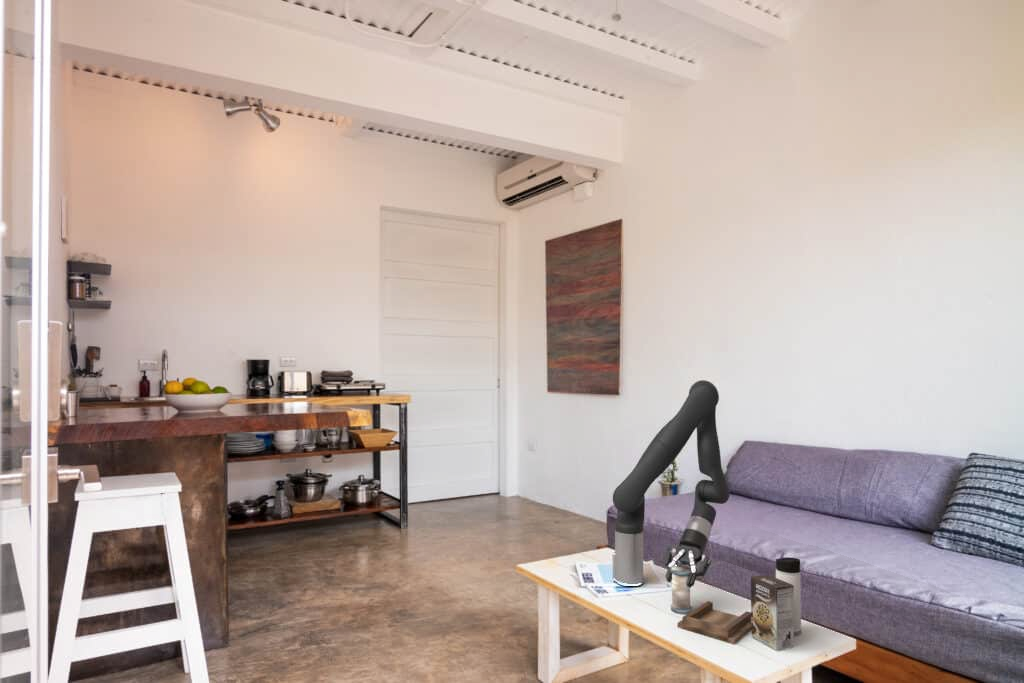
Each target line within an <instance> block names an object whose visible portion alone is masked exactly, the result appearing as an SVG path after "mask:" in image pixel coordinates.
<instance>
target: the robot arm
mask: <svg viewBox="0 0 1024 683" xmlns="http://www.w3.org/2000/svg"><path fill="white" fill-rule="evenodd" d="M719 400H720V395H719V390H718V389H717V387H716V385H714V384H713V383H712V382H710V381H709V380H704V379H702V380H697V381H695V382H694V383H693V384H692V385H691V386H690V389H689V391H688V396H687V397H686V399H685V401H684V402H683V404H682V406H681V407H680V409H679V410H678V412H677V413H676V414H675V415H674V416H673V418H672V419H670V420H669V421H668V422H667V423H666V424H664V425H663V427H662V428H660V430H659V431H658V433H656V434H655V436H654V437H653V438H652V440H651V442H650V443H649V444H648V445H647V447H646V448H645V450H644V452H643V453H642V455H641V457H640V458H639V460H637V463H636V465H635V466H634V468H633V469H632V471H631V472H630V473H629V474H628V476H626V477H625V478H624V480H623V481H622V482H620V484H619V485H618V486H617V487H616V488H615V489H614V490H613V494H612V503H613V506H614V508H615V509H616V510H617V512H616V513H617V515H616V518H615V521H614V542H615V543H614V546H615V547H614V549H615V550H614V552H613V553H612V579H613V578H615V579H616V580H617V581H620V582H622V583H627V584H638V583H642V582H643V583H644V523H645V514H646V513H645V505H646V503H645V502H646V501H645V498H646V496H645V494H646V492H647V491H648V489H649V488H650V487H651V485H652V484H653V483H654V482H655V480H657V479H658V478H659V477H660V476H661V475H662V474H663V473H664V472H665V471H666V470H667V469H669V467H670V466H671V465H672V463H673V462H674V461H675V459H677V458H678V455H680V453H681V452H682V450H683V449H684V447H685V446H686V445H687V443H688V441H689V439H690V438H691V437H692V435H693V433H694V432H695V430H696V449H697V450H696V452H697V462H698V470H699V472H700V473H701V474H703V475H705V476H708V477H709V478H711V480H710V479H701V480H700V481H698V482H697V483H696V485H695V487H694V488H695V489H694V501H693V502H694V504H693V509H692V511H691V514H690V517H689V519H688V521H687V522H686V525H685V527H684V530H683V532H682V535H681V538H680V541H679V543H678V544H679V545H678V546H677V548H672V547H671V546H668V547H667V548H666V552H665V557H664V560H663V563H664V565H665V567H666V569H667V570H666V574H665V575H664V576H665V580H666V581H667V583H672V573H671V567H674V566H685V565H686V566H687V567H690V569H691V571H692V573H690V575H689V577H688V580H687V583H686V584H687V586H688V587H690V589H691V588H692V587H694V585H695V582H696V579H697V578H698V577H705V575H706V573H707V571H708V569H709V567H710V565H711V563H712V559H711V557H710V555H708V554H706V555H704V553H705V550H706V547H707V545H708V542H709V540H710V536H711V531H712V528H713V525H714V522H715V519H716V517H717V510H716V509H715V507H714V506H712V505H711V504H719V505H724V504H725V503H726V504H727V502H728V500H729V498H730V493H731V492H730V488H729V484H728V481H727V479H726V477H725V474H724V471H723V468H722V458H721V449H720V441H719V437H718V431H717V419H716V413H717V412H716V410H717V406H718V404H719ZM709 503H711V504H709ZM675 554H676V555H675ZM700 561H701V563H700V565H699V566H698V563H699V562H700Z"/></svg>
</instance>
